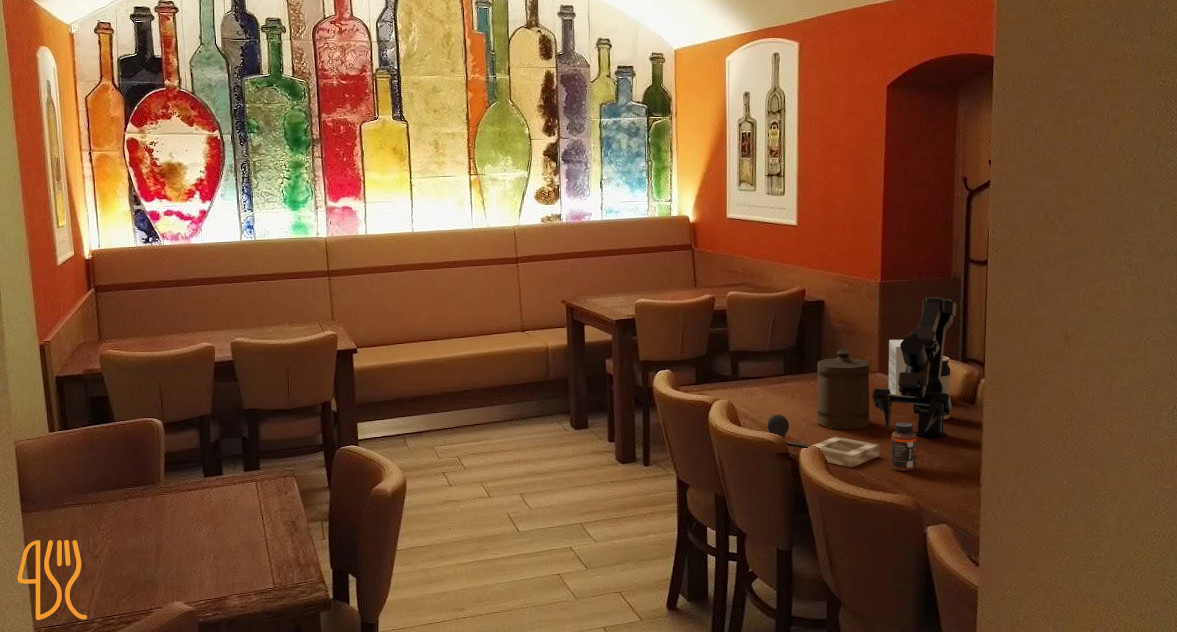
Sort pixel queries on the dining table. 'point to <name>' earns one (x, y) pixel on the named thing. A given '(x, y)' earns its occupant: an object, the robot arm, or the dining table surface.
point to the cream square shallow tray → (847, 451)
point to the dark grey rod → (798, 444)
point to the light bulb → (778, 425)
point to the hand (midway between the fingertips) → (906, 428)
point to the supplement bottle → (904, 448)
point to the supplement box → (895, 365)
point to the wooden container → (843, 392)
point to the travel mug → (945, 378)
